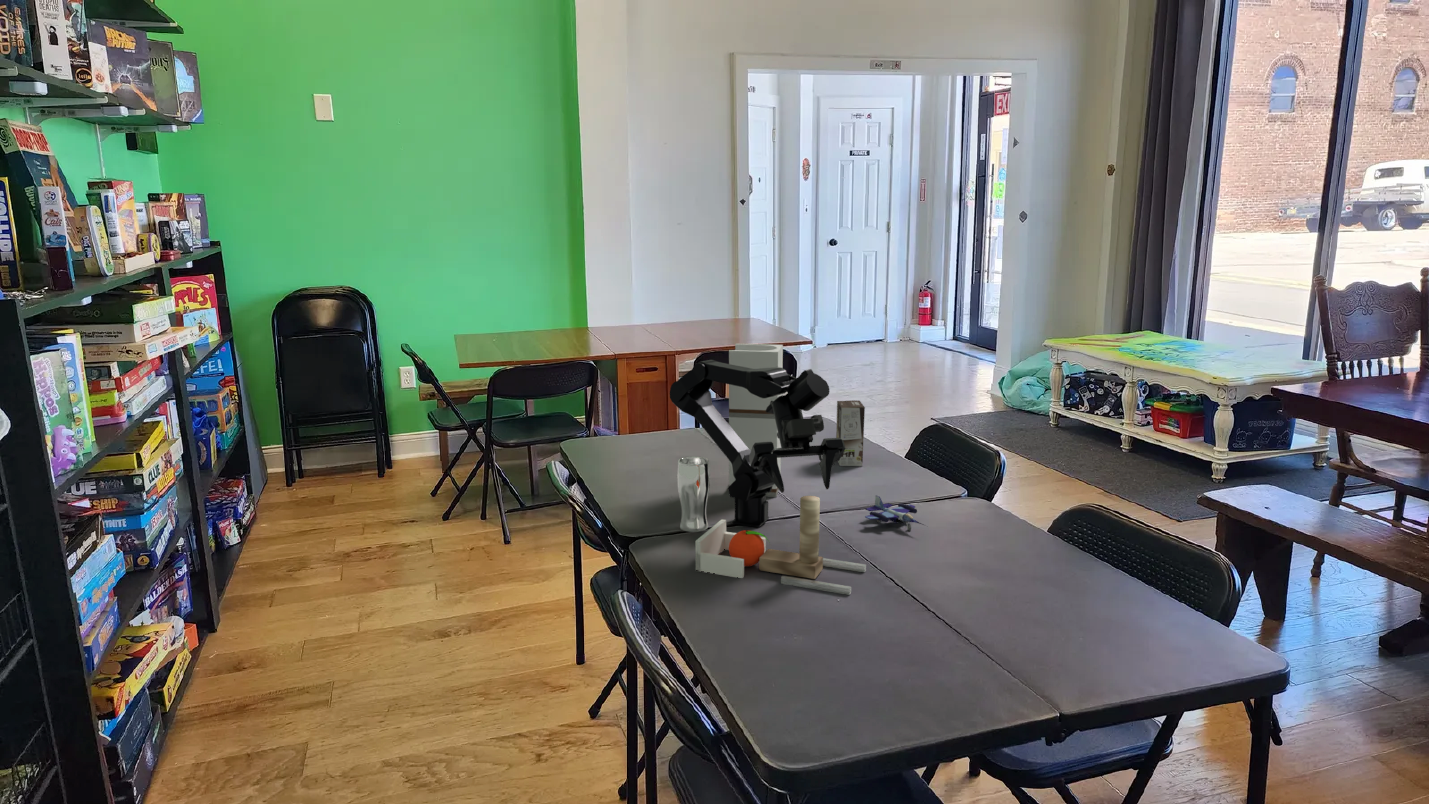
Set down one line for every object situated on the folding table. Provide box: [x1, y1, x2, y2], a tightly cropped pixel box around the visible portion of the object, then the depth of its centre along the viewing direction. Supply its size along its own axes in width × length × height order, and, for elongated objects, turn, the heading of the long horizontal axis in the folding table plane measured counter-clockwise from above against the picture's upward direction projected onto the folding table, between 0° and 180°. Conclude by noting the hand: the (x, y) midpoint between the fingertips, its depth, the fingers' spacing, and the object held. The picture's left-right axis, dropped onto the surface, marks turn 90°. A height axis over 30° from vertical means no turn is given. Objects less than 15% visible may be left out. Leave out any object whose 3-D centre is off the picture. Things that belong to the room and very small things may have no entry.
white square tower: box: [728, 343, 784, 498], centre depth 220 cm, size 11×11×35 cm
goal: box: [694, 518, 767, 579], centre depth 178 cm, size 10×13×6 cm
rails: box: [780, 557, 867, 596], centre depth 171 cm, size 13×12×1 cm
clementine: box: [728, 529, 770, 567], centre depth 177 cm, size 8×7×7 cm
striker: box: [758, 495, 824, 580], centre depth 172 cm, size 11×5×15 cm, turn 67°
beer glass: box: [676, 456, 711, 533], centre depth 196 cm, size 7×7×15 cm
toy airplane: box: [864, 495, 927, 532], centre depth 199 cm, size 13×14×4 cm
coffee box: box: [835, 399, 866, 467], centre depth 245 cm, size 9×6×16 cm
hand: (805, 490), depth 179 cm, fingers open, 9 cm apart
